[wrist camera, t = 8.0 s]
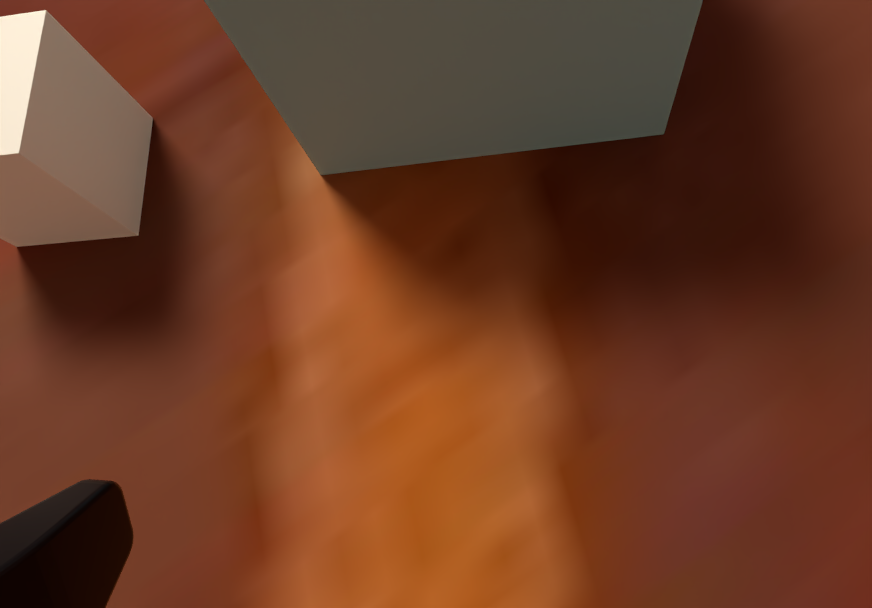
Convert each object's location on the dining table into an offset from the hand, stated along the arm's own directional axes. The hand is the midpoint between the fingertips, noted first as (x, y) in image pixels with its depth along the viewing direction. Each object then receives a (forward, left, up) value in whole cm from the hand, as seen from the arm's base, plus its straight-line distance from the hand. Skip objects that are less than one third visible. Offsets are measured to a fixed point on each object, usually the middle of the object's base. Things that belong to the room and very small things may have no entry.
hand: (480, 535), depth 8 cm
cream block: (-3, +20, -13) cm, 24 cm away
